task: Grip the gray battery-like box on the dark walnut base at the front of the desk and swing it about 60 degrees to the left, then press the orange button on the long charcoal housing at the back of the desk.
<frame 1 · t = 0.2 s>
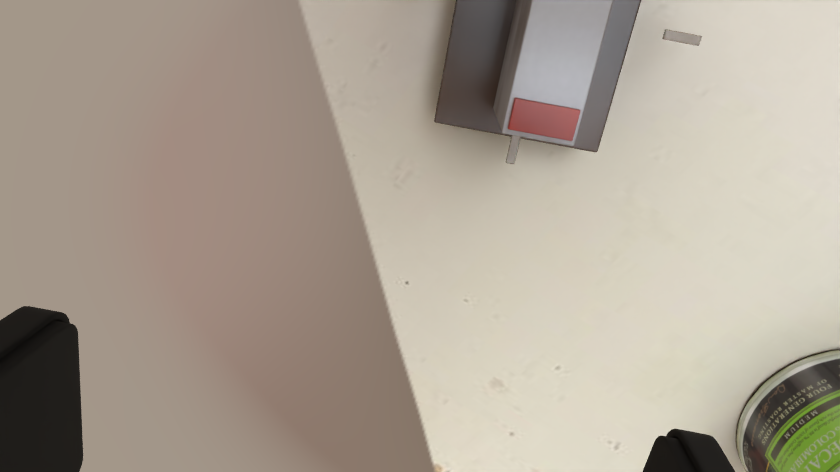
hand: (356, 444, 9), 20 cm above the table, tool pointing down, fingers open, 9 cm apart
coffee can: (830, 426, 32), on the table
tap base: (535, 12, 25), on the table
gray battery-like box: (556, 11, 20), point 6 cm above the table, hinge at 0.0°
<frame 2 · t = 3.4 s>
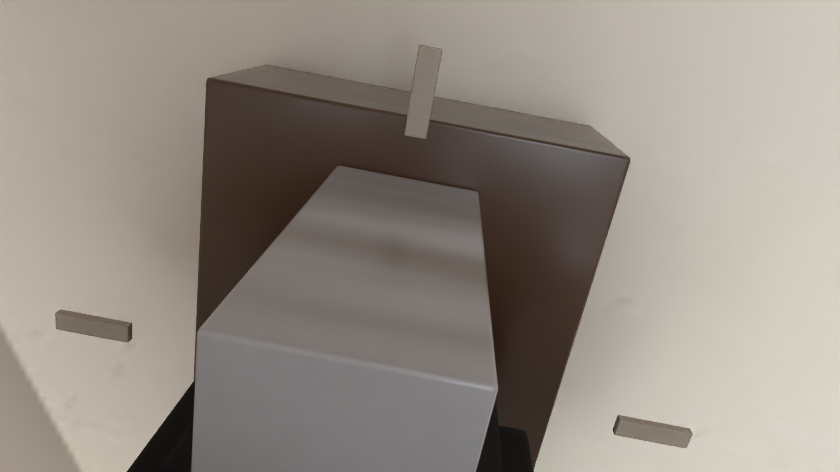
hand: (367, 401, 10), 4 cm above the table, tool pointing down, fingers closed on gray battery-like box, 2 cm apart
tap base: (391, 304, 14), on the table
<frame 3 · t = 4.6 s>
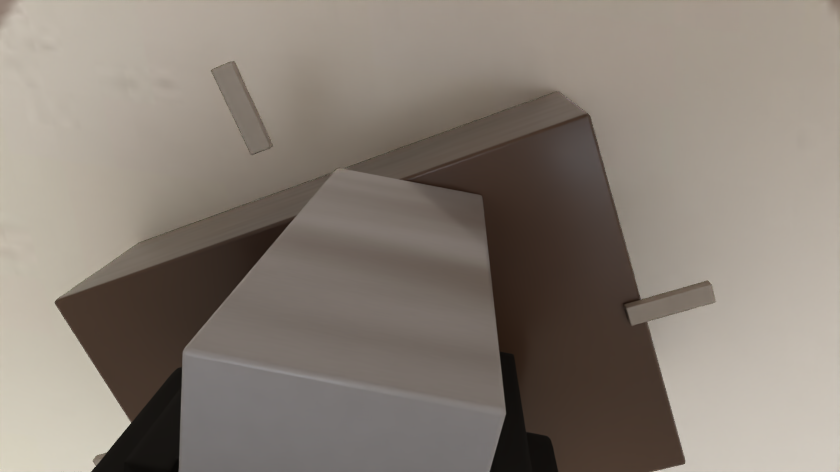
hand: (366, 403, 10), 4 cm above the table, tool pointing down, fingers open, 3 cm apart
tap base: (392, 309, 14), on the table
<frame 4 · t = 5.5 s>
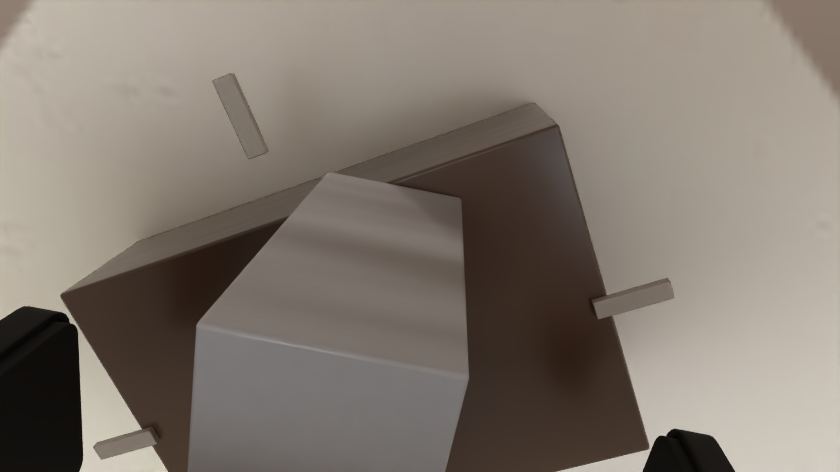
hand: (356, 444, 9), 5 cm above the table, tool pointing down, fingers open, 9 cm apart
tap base: (378, 305, 14), on the table
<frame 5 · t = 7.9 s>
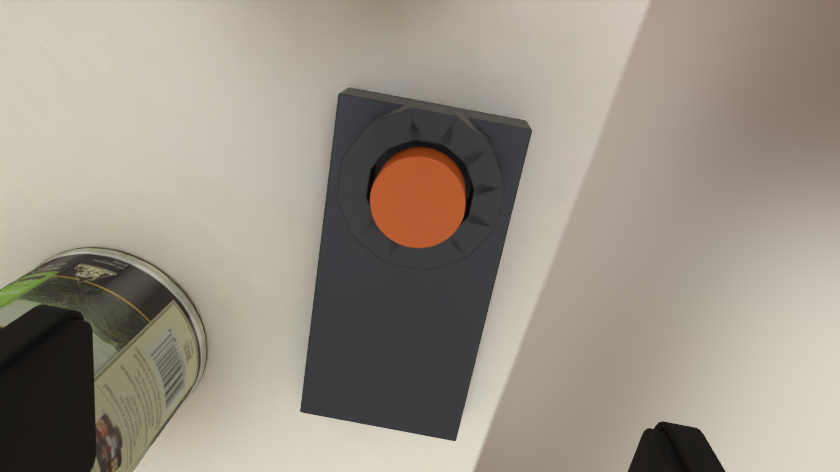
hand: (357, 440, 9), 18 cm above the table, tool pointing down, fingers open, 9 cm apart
coffee can: (116, 334, 31), on the table
button: (419, 197, 22), point 4 cm above the table, slide at 0.1 cm
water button: (407, 267, 28), on the table
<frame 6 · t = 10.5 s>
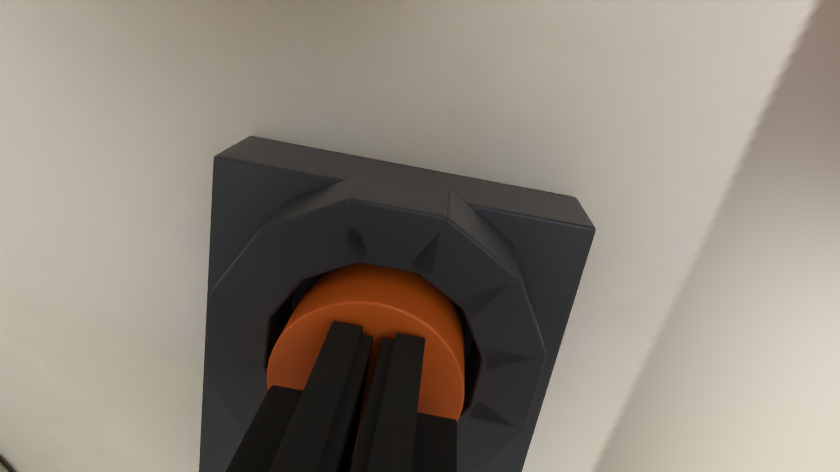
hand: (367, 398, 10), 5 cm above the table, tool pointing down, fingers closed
button: (371, 363, 11), point 4 cm above the table, slide at -0.4 cm, touching gripper
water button: (366, 431, 17), on the table
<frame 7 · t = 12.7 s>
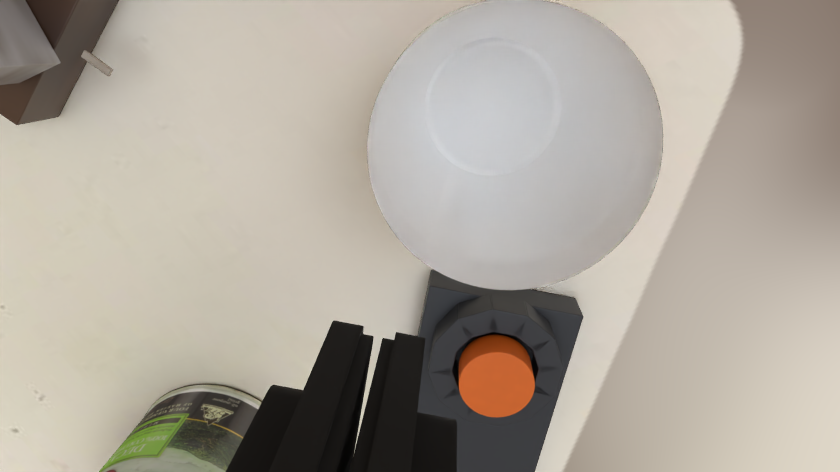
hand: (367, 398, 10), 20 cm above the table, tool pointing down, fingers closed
cup: (491, 108, 29), on the table
coffee can: (220, 451, 37), on the table
button: (495, 375, 28), point 4 cm above the table, slide at 0.1 cm
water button: (472, 405, 34), on the table
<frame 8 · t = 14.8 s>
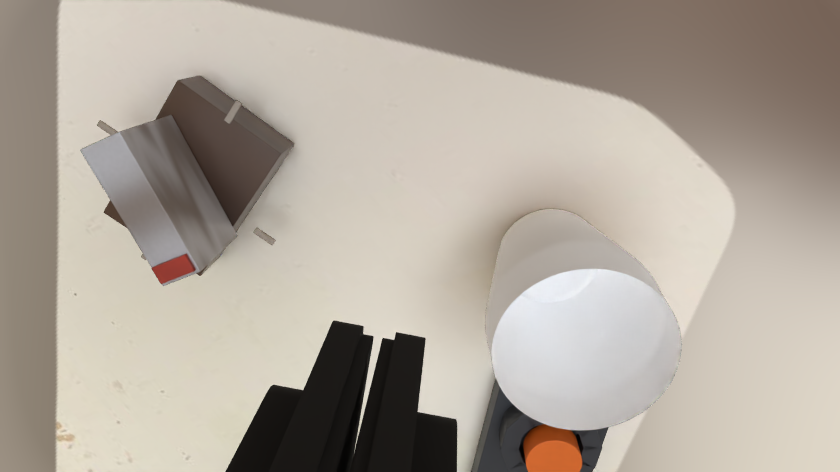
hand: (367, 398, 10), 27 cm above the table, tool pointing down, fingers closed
cup: (548, 254, 38), on the table
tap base: (209, 171, 38), on the table
button: (552, 453, 38), point 4 cm above the table, slide at 0.1 cm
gray battery-like box: (166, 198, 32), point 6 cm above the table, hinge at 59.3°
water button: (526, 464, 44), on the table
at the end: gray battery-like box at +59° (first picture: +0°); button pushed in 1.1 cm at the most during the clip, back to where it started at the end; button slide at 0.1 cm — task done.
